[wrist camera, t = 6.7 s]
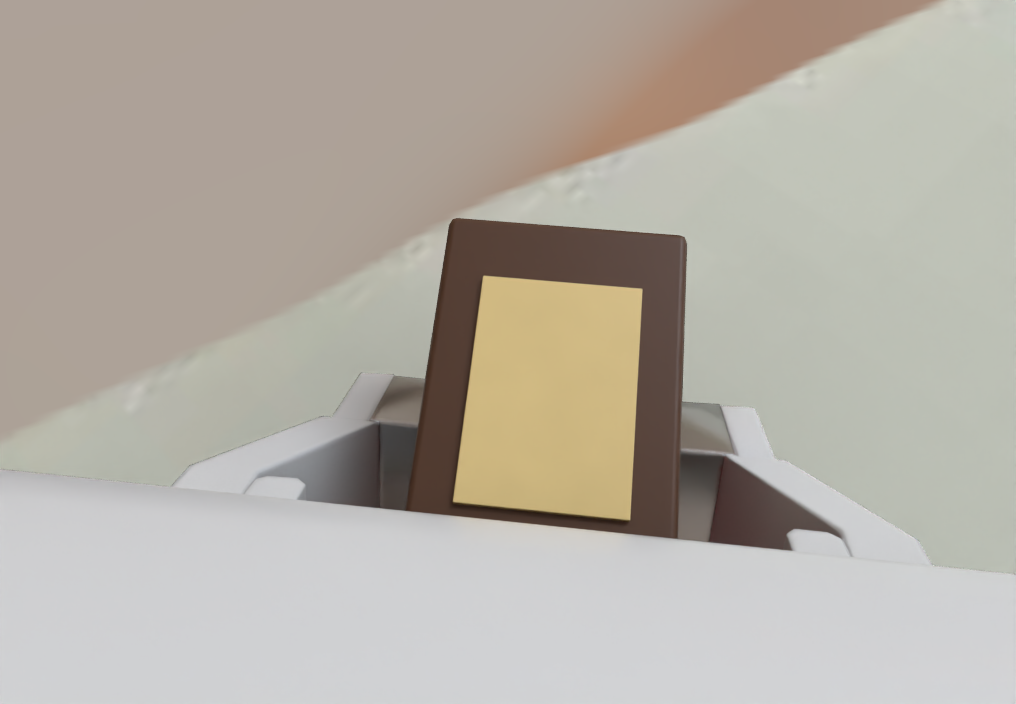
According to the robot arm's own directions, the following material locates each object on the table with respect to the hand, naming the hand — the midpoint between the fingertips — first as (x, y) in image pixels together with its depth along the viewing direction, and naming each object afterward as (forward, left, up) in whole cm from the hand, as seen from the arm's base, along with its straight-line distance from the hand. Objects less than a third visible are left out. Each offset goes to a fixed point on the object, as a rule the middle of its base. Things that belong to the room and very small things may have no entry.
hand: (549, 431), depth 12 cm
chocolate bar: (+1, 0, -4) cm, 4 cm away
